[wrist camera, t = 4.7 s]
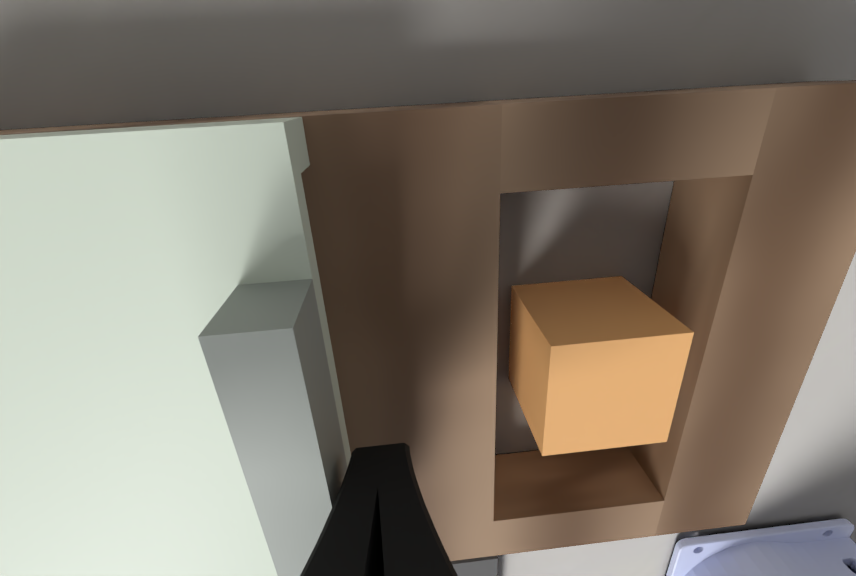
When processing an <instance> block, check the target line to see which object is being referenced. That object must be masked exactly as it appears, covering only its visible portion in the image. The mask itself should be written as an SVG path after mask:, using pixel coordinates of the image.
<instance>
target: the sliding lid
mask: <svg viewBox="0 0 856 576" xmlns="http://www.w3.org/2000/svg"><path fill="white" fill-rule="evenodd" d="M309 165H310V162H309V156H308V150H307V144H306V138H305V132H304V126H303V120H302V117H290V118H273V119H257V120H240V121H224V122H207V123H191V124H174V125H158V126H141V127H125V128H109V129H92V130H76V131H59V132H43V133H26V134H10V135H0V576H300V575H301V573H302V571H303V569H304V567H305V565H306V563H307V561H308V559H309V557H310V555H311V553H312V551H313V549H314V547H315V545H316V543H317V541H318V539H319V536H320V534H321V532H322V530H323V527H324V525H325V523H326V521H327V518H328V516H329V514H330V512H331V509H332V507H333V505H334V502H335V500H336V497H337V495H338V492H339V490H340V487H341V485H342V482H343V479H344V476H345V473H346V470H347V467H348V464H349V461H350V458H351V452H350V447H349V441H348V436H347V430H346V424H345V419H344V413H343V407H342V402H341V396H340V390H339V385H338V379H337V374H336V368H335V362H334V357H333V351H332V345H331V340H330V334H329V329H328V323H327V317H326V312H325V306H324V300H323V295H322V289H321V283H320V278H319V272H318V267H317V261H316V255H315V250H314V244H313V238H312V233H311V227H310V222H309V216H308V210H307V205H306V199H305V193H304V188H303V182H302V177H301V173H302V172H303V171H304V170H305V169H306V168H307V167H308V166H309Z"/></svg>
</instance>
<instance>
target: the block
mask: <svg viewBox="0 0 856 576" xmlns="http://www.w3.org/2000/svg"><path fill="white" fill-rule="evenodd" d="M693 335H694V332H693V331H692V330H690V329H689V328H688V327H687V326H685V325H684V324H683V323H681V322H680V321H679V320H678V319H676V318H675V317H674V316H672V315H671V314H670V313H669V312H667V311H666V310H665V309H663V308H662V307H661V306H659V305H658V304H657V303H656V302H654V301H653V300H652V299H650V298H649V297H648V296H647V295H645V294H644V293H643V292H641V291H640V290H639V289H638V288H636V287H635V286H634V285H632V284H631V283H630V282H629V281H627V280H626V279H625V278H623V277H622V276H616V277H605V278H593V279H582V280H571V281H560V282H548V283H537V284H526V285H515V286H511V317H510V347H509V380H510V383H511V385H512V387H513V390H514V392H515V394H516V397H517V399H518V401H519V404H520V406H521V408H522V411H523V413H524V415H525V418H526V420H527V422H528V425H529V427H530V429H531V431H532V434H533V436H534V438H535V441H536V443H537V445H538V448H539V450H540V452H541V455H542V456H547V455H556V454H565V453H574V452H582V451H591V450H600V449H609V448H617V447H626V446H635V445H644V444H652V443H661V442H667V439H668V435H669V431H670V427H671V423H672V419H673V415H674V411H675V407H676V403H677V399H678V395H679V391H680V387H681V383H682V379H683V375H684V371H685V367H686V363H687V359H688V355H689V351H690V347H691V343H692V339H693Z"/></svg>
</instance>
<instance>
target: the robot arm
mask: <svg viewBox="0 0 856 576" xmlns="http://www.w3.org/2000/svg"><path fill="white" fill-rule="evenodd" d="M853 531H854V525H853V524H852V523H851V522H850V521H849V520H847V519H843V518H841V519H833V520H825V521H817V522H809V523H801V524H793V525H785V526H777V527H769V528H761V529H753V530H745V531H738V532H730V533H722V534H714V535H706V536H698V537H690V538H684V539H681V540H679V541H678V542H677V543H676V545H675V548H674V552H673V555H672V558H671V561H670V565H669V568H668V571H667V574H666V576H856V543H855V542H854V541H853V540H852V539H851V538H849V537H850V536H851V534H852V532H853ZM300 576H458V575H457V573H456V571H455V569H454V567H453V565H452V563H451V561H450V559H449V557H448V555H447V553H446V551H445V549H444V547H443V544H442V542H441V540H440V538H439V536H438V533H437V531H436V529H435V526H434V524H433V522H432V519H431V517H430V514H429V512H428V509H427V507H426V505H425V502H424V499H423V497H422V494H421V491H420V488H419V485H418V482H417V479H416V476H415V472H414V468H413V464H412V460H411V455H410V446H409V445H407V444H406V443H397V444H387V445H378V446H369V447H359V448H356V449H355V450H354V451H353V452H352V454H351V458H350V461H349V464H348V467H347V470H346V473H345V476H344V479H343V482H342V485H341V487H340V490H339V492H338V495H337V497H336V500H335V502H334V505H333V507H332V509H331V512H330V514H329V516H328V518H327V521H326V523H325V525H324V527H323V530H322V532H321V534H320V536H319V539H318V541H317V543H316V545H315V547H314V549H313V551H312V553H311V555H310V557H309V559H308V561H307V563H306V565H305V567H304V569H303V571H302V573H301V575H300Z"/></svg>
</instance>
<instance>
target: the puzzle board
mask: <svg viewBox="0 0 856 576" xmlns="http://www.w3.org/2000/svg"><path fill="white" fill-rule="evenodd" d="M290 117H302V120H303V126H304V132H305V138H306V144H307V150H308V156H309V162H310V165H309V166H308V167H307V168H306V169H305V170H304V171H303V172H302V173H301V177H302V182H303V188H304V193H305V199H306V205H307V210H308V216H309V222H310V227H311V233H312V238H313V244H314V250H315V255H316V261H317V267H318V272H319V278H320V283H321V289H322V295H323V300H324V306H325V312H326V317H327V323H328V329H329V334H330V340H331V345H332V351H333V357H334V362H335V368H336V374H337V379H338V385H339V390H340V396H341V402H342V407H343V413H344V419H345V424H346V430H347V436H348V441H349V447H350V452H351V454H352V452H353V451H354V450H355V449H356V448H359V447H369V446H378V445H387V444H397V443H406V444H407V445H409V446H410V455H411V460H412V464H413V468H414V472H415V476H416V479H417V482H418V485H419V488H420V491H421V494H422V497H423V499H424V502H425V505H426V507H427V509H428V512H429V514H430V517H431V519H432V522H433V524H434V526H435V529H436V531H437V533H438V536H439V538H440V540H441V542H442V544H443V547H444V549H445V551H446V553H447V555H448V557H449V559H450V561H456V560H464V559H472V558H480V557H488V556H496V555H504V554H512V553H520V552H528V551H536V550H544V549H552V548H560V547H568V546H576V545H584V544H592V543H600V542H608V541H616V540H624V539H632V538H640V537H648V536H656V535H664V534H672V533H681V532H689V531H697V530H705V529H713V528H721V527H729V526H737V525H745V523H746V521H747V519H748V516H749V514H750V511H751V509H752V506H753V504H754V501H755V499H756V496H757V494H758V491H759V489H760V486H761V484H762V481H763V479H764V477H765V474H766V472H767V469H768V467H769V464H770V462H771V459H772V457H773V454H774V452H775V449H776V447H777V444H778V442H779V439H780V437H781V435H782V432H783V430H784V427H785V425H786V422H787V420H788V417H789V415H790V412H791V410H792V407H793V405H794V402H795V400H796V397H797V395H798V392H799V390H800V388H801V385H802V383H803V380H804V378H805V375H806V373H807V370H808V368H809V365H810V363H811V360H812V358H813V355H814V353H815V350H816V348H817V346H818V343H819V341H820V338H821V336H822V333H823V331H824V328H825V326H826V323H827V321H828V318H829V316H830V313H831V311H832V308H833V306H834V304H835V301H836V299H837V296H838V294H839V291H840V289H841V286H842V284H843V281H844V279H845V276H846V274H847V271H848V269H849V266H850V264H851V261H852V259H853V257H854V254H855V252H856V80H849V81H810V82H794V83H777V84H761V85H744V86H727V87H711V88H694V89H677V90H661V91H644V92H627V93H611V94H594V95H577V96H561V97H544V98H527V99H511V100H494V101H478V102H461V103H444V104H428V105H411V106H394V107H378V108H361V109H344V110H328V111H311V112H294V113H278V114H261V115H244V116H228V117H211V118H195V119H178V120H161V121H145V122H128V123H111V124H95V125H78V126H61V127H45V128H28V129H11V130H0V135H10V134H26V133H43V132H59V131H76V130H92V129H109V128H125V127H141V126H158V125H174V124H191V123H207V122H224V121H240V120H257V119H273V118H290ZM663 181H674V184H673V189H672V195H671V200H670V205H669V210H668V215H667V220H666V225H665V231H664V236H663V241H662V246H661V251H660V256H659V261H658V266H657V272H656V277H655V282H654V287H653V292H652V297H651V299H652V300H653V301H654V302H656V303H657V304H658V305H659V306H661V307H662V308H663V309H665V310H666V311H667V312H669V313H670V314H671V315H672V316H674V317H675V318H676V319H678V320H679V321H680V322H681V323H683V324H684V325H685V326H687V327H688V328H689V329H690V330H692V331H693V332H694V335H693V339H692V343H691V347H690V351H689V355H688V359H687V363H686V367H685V371H684V375H683V379H682V383H681V387H680V391H679V395H678V399H677V403H676V407H675V411H674V415H673V419H672V423H671V427H670V431H669V435H668V439H667V442H661V443H652V444H644V445H635V446H626V447H617V448H609V449H600V450H591V451H582V452H574V453H565V454H556V455H547V456H542V455H541V452H540V450H537V451H528V452H519V453H510V454H501V455H495V423H496V375H497V327H498V279H499V231H500V193H514V192H527V191H541V190H554V189H568V188H582V187H595V186H609V185H623V184H636V183H650V182H663Z"/></svg>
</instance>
